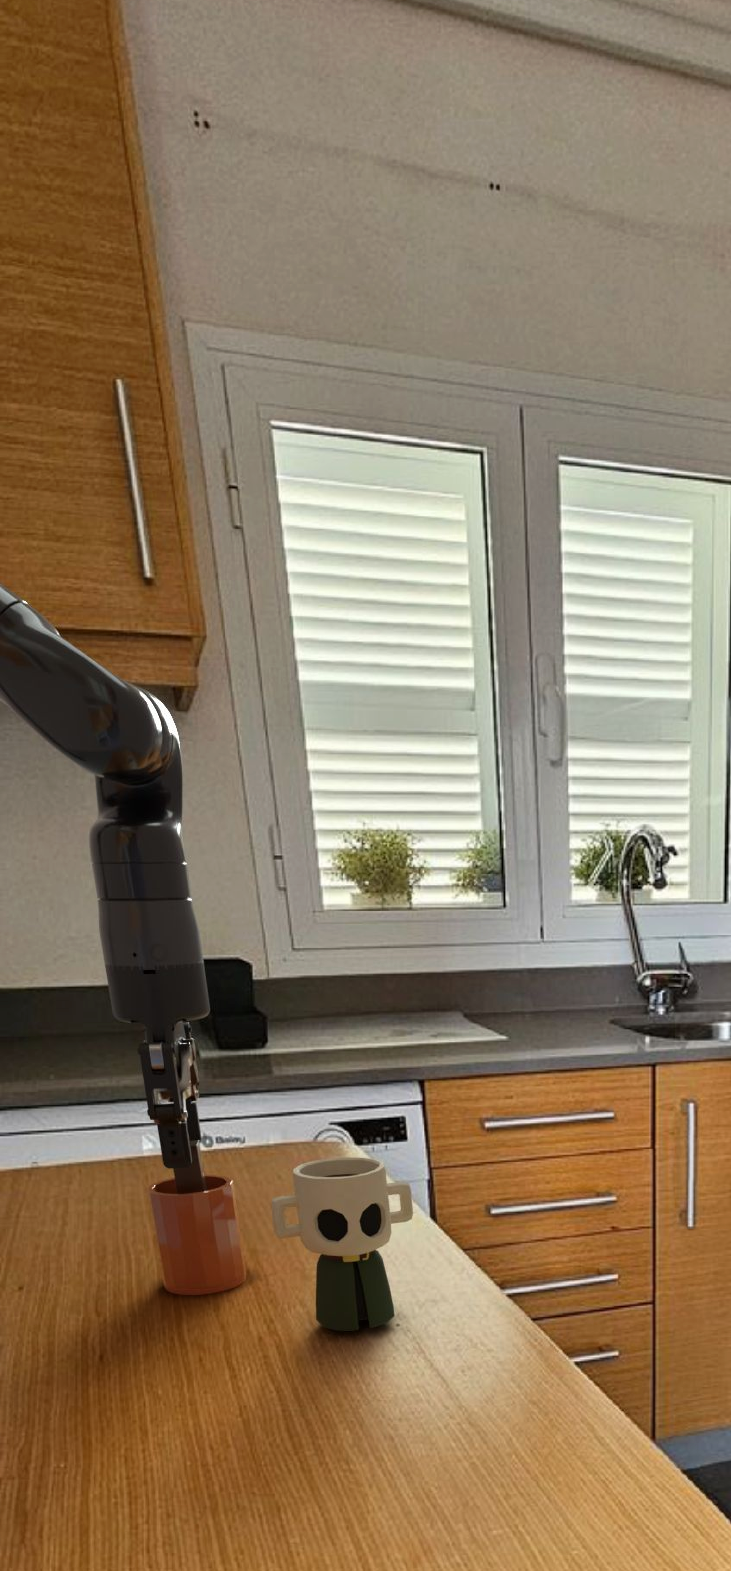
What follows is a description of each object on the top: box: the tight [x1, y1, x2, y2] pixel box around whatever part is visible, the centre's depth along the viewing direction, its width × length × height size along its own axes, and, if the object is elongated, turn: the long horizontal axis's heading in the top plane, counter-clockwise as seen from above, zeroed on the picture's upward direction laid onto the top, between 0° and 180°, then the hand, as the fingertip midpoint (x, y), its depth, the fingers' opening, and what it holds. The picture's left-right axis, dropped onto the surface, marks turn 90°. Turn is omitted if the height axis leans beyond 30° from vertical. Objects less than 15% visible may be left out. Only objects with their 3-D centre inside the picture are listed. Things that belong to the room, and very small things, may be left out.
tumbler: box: [146, 1174, 247, 1296], centre depth 106 cm, size 7×7×9 cm
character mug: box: [270, 1156, 414, 1332], centre depth 95 cm, size 11×7×13 cm, turn 115°
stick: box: [172, 1140, 207, 1194], centre depth 105 cm, size 2×2×12 cm
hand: (183, 1155), depth 103 cm, fingers open, 8 cm apart
